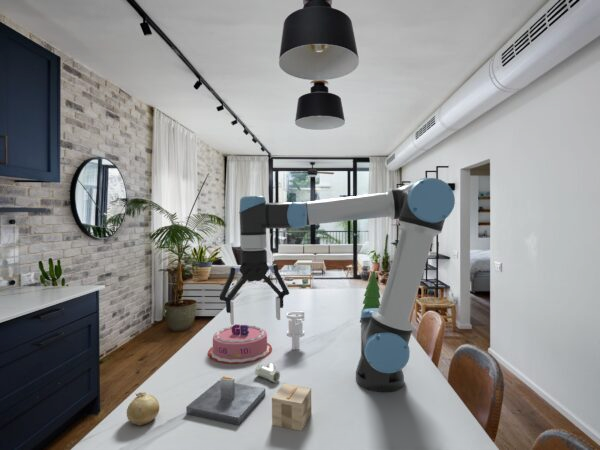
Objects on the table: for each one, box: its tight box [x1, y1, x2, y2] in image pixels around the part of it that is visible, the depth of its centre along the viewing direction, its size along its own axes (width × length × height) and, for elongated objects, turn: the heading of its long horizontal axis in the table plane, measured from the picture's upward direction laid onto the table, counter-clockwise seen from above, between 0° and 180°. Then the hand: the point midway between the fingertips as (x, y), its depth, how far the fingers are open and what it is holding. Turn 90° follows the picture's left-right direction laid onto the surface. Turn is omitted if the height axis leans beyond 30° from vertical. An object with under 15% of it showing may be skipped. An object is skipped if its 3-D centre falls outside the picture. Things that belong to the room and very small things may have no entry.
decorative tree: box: [359, 269, 381, 324], centre depth 150 cm, size 10×9×30 cm
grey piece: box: [185, 375, 266, 426], centre depth 101 cm, size 16×16×8 cm
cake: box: [207, 323, 273, 365], centre depth 140 cm, size 25×25×11 cm
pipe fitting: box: [254, 363, 281, 384], centre depth 117 cm, size 8×4×7 cm
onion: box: [126, 391, 160, 427], centre depth 93 cm, size 8×8×7 cm
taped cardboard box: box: [271, 383, 312, 432], centre depth 93 cm, size 8×8×7 cm
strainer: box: [286, 310, 305, 351], centre depth 142 cm, size 7×7×15 cm
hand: (255, 321), depth 105 cm, fingers open, 13 cm apart
